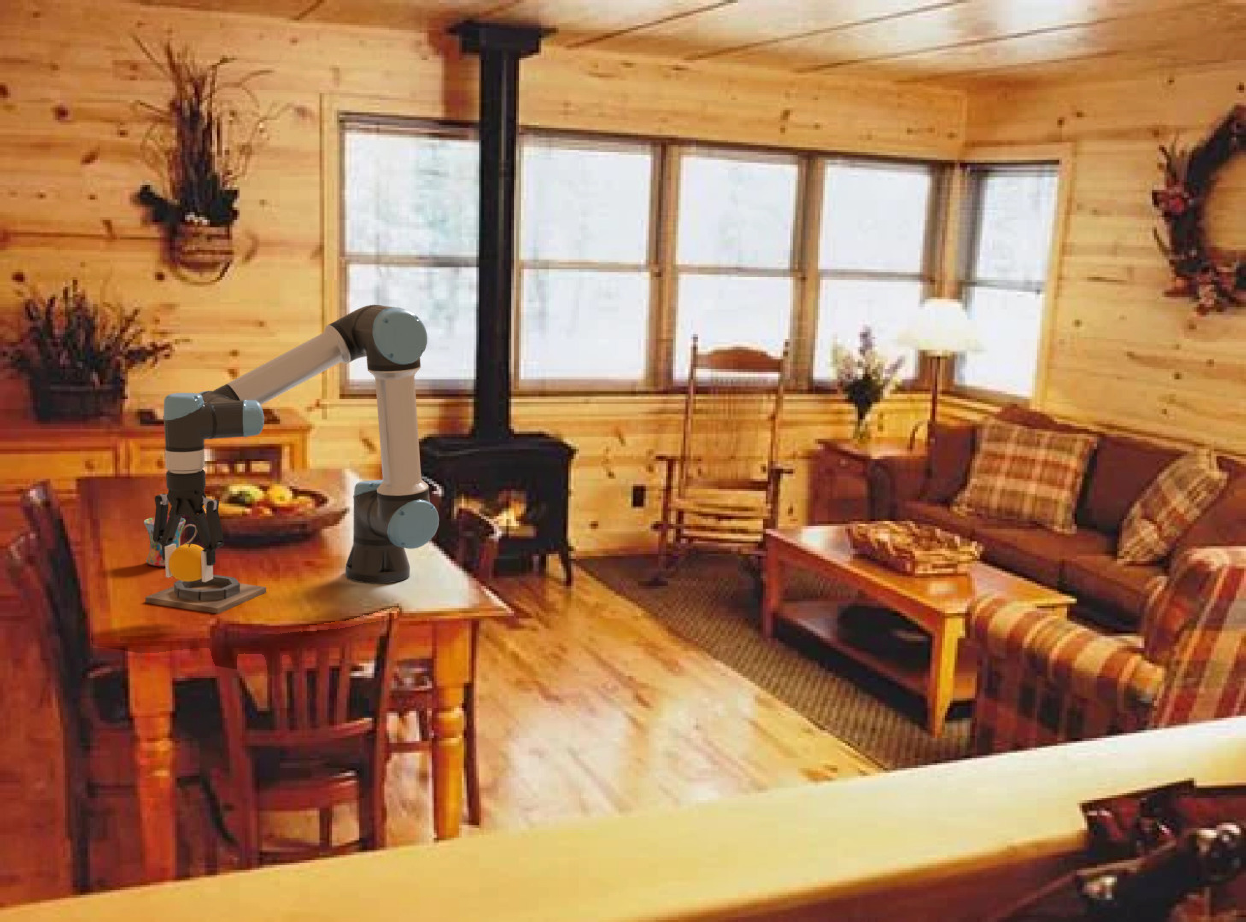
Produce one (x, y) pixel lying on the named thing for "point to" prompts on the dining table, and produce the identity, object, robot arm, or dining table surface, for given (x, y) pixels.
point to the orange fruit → (186, 562)
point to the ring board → (206, 605)
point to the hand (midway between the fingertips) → (189, 577)
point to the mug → (156, 547)
